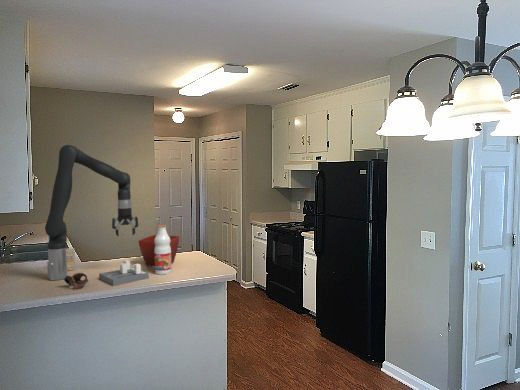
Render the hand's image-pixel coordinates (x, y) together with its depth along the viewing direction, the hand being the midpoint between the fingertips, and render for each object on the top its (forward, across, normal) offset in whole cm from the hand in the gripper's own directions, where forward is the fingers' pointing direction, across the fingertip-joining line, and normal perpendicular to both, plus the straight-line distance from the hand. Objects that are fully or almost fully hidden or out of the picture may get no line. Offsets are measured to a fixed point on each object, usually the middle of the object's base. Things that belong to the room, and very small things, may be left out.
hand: (125, 235), depth 243 cm
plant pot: (+23, +22, +14) cm, 35 cm away
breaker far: (+19, 0, -2) cm, 19 cm away
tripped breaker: (+19, -3, -10) cm, 22 cm away
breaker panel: (+23, -3, -10) cm, 25 cm away
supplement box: (+23, -31, +27) cm, 47 cm away
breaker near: (+19, +4, -15) cm, 25 cm away
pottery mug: (+23, -27, -15) cm, 39 cm away
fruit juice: (+23, +19, -8) cm, 31 cm away
